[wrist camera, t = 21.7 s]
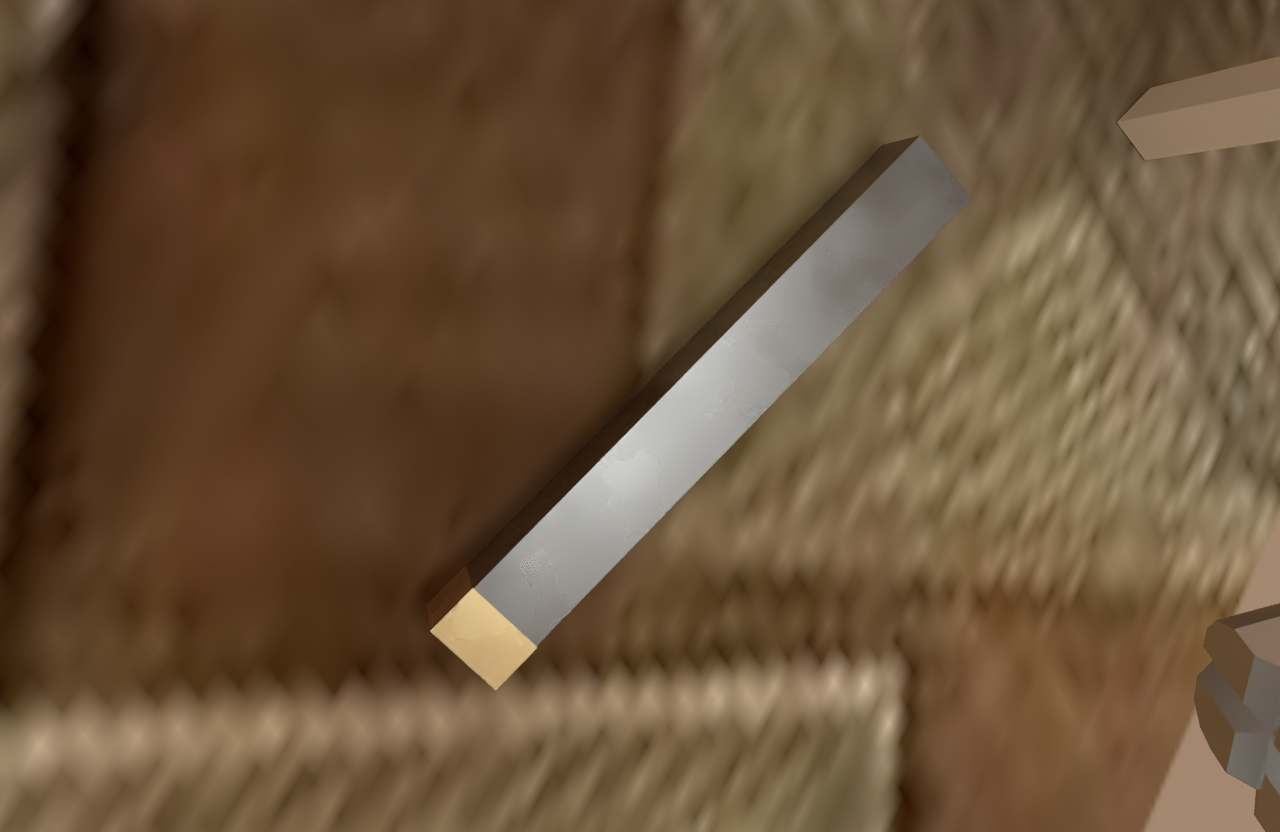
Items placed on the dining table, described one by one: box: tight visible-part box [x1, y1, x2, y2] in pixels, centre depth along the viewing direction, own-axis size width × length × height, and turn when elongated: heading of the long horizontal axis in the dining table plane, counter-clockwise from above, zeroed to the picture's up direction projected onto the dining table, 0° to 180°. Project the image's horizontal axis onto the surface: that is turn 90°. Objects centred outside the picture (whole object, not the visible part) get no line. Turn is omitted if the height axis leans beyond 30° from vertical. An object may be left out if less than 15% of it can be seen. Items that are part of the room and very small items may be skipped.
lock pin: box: [426, 136, 971, 690], centre depth 40 cm, size 3×24×3 cm, turn 134°
